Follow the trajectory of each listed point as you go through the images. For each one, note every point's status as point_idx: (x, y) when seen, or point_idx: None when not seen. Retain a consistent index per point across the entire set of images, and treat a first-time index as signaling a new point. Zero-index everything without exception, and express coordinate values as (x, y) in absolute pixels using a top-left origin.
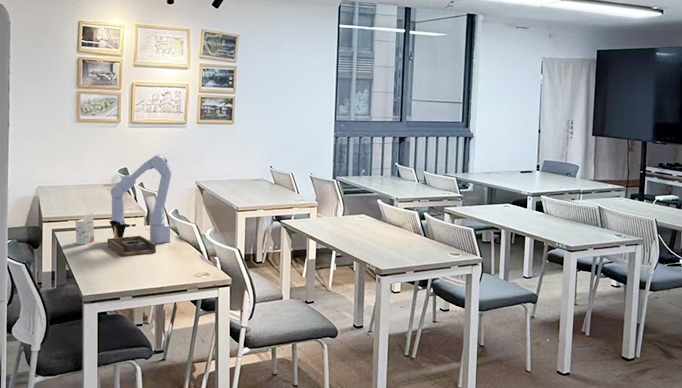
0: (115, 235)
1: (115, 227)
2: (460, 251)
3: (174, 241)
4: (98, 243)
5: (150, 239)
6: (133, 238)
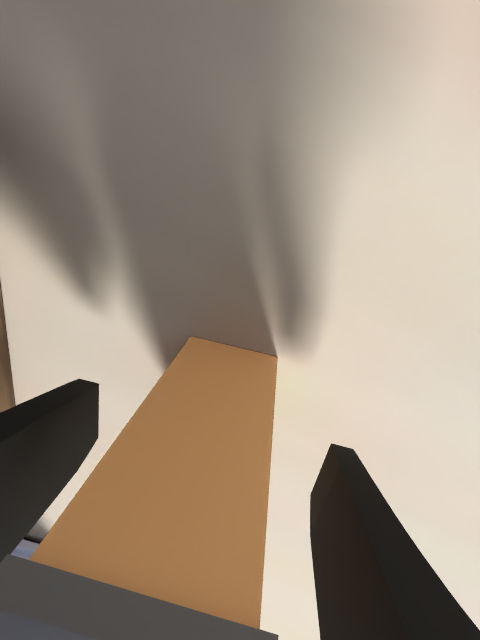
0: (187, 401)
1: (7, 582)
2: None
3: None
4: (312, 72)
5: None
6: None
